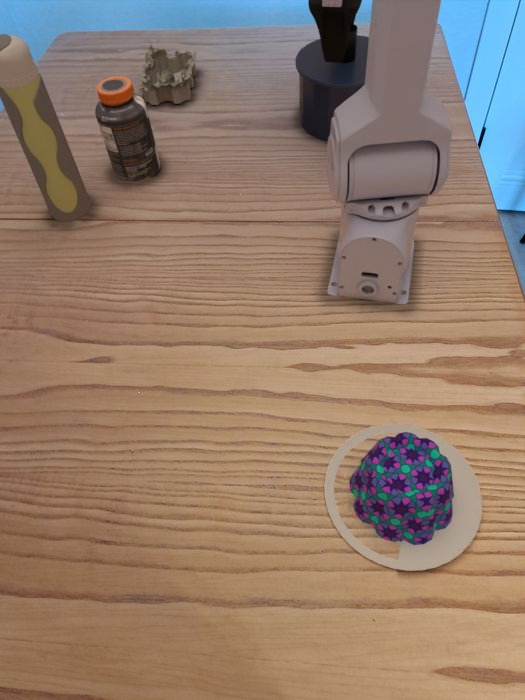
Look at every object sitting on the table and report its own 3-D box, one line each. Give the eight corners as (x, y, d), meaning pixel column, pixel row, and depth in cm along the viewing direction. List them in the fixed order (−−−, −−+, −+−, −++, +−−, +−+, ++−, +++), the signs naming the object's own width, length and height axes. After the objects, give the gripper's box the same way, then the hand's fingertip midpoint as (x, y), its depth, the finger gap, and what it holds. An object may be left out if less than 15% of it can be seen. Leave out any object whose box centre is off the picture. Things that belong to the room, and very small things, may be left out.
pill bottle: (165, 156, 74) (145, 69, 65) (155, 184, 71) (133, 97, 62) (120, 156, 75) (95, 70, 66) (109, 184, 71) (80, 98, 62)
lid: (390, 96, 67) (395, 56, 63) (286, 90, 69) (285, 50, 65) (399, 45, 74) (404, 6, 70) (305, 41, 76) (305, 3, 73)
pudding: (356, 594, 41) (361, 573, 37) (304, 449, 48) (304, 417, 44) (509, 546, 42) (532, 520, 38) (437, 412, 49) (449, 377, 45)
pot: (381, 145, 73) (387, 89, 67) (293, 139, 75) (291, 83, 69) (389, 98, 79) (396, 42, 73) (308, 93, 81) (308, 38, 76)
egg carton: (154, 69, 88) (148, 42, 85) (202, 68, 88) (198, 41, 84) (138, 106, 82) (131, 78, 79) (190, 106, 81) (185, 78, 78)
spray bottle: (95, 219, 68) (29, 45, 52) (54, 229, 67) (-26, 57, 51) (90, 195, 70) (26, 23, 54) (50, 204, 70) (-26, 33, 54)
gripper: (318, -114, 64) (316, 16, 75) (292, -65, 55) (294, 73, 66) (382, -114, 62) (371, 19, 73) (365, -64, 54) (356, 77, 65)
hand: (338, 45), depth 70 cm, fingers open, 7 cm apart
